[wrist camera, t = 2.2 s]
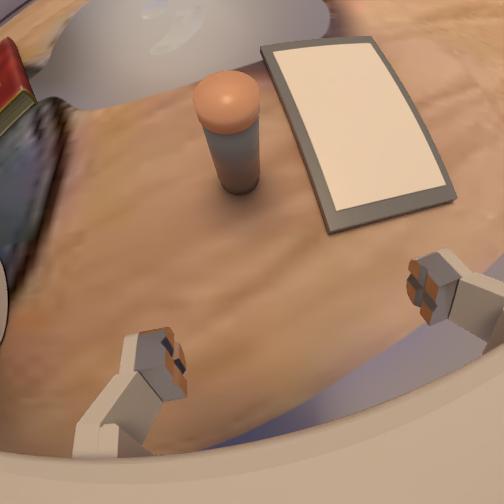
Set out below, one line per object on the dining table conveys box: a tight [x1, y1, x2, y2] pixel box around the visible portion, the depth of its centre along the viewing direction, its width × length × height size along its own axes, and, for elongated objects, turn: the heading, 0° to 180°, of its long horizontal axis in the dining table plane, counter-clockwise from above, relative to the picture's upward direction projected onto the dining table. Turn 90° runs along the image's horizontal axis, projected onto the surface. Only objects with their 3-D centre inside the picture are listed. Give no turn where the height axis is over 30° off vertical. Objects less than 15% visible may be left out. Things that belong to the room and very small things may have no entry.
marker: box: [193, 71, 260, 195], centre depth 23 cm, size 4×4×12 cm
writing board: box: [260, 36, 458, 234], centre depth 29 cm, size 14×22×1 cm, turn 15°
